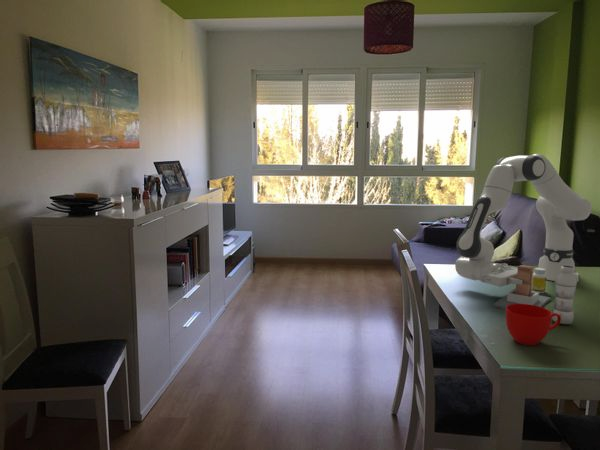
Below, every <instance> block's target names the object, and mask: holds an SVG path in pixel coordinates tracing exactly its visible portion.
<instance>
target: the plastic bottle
mask: <svg viewBox="0 0 600 450" xmlns="http://www.w3.org/2000/svg"><path fill="white" fill-rule="evenodd" d="M573 270H575V266H574V267H572V266H567V265H562V266H561V270H560V271H561V273H560V274H559V275H558V276H557V277H556V279H555V281H554V288H555V290H554V291H555V294H554V295H555V297H554V298H555V300H554V305H553V308H552V311H551V312H552V313H557V314H559V315H560V317H561V321H560V323H559V325H560V324H561V325H571V324H572V323H573V322H574V319H575V318H574V316H575V315H574V297H575V293H576V288H577V283H578V282H576V279H575V277H574V276H573V274H572V273H573V272H574V271H573ZM557 319H558V317H557V316H553V317H552V321H553V322H554V323H556V321H557Z"/></svg>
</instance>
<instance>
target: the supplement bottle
mask: <svg viewBox="0 0 600 450" xmlns="http://www.w3.org/2000/svg"><path fill="white" fill-rule="evenodd" d="M534 272H535V273H534ZM534 272H533V277H532V288H531V292H537V293H539V294H544V293H545V292H546V284H547V279H546V275H545V274H544V273H545V269H543V268H538V267H535V268H534Z"/></svg>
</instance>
